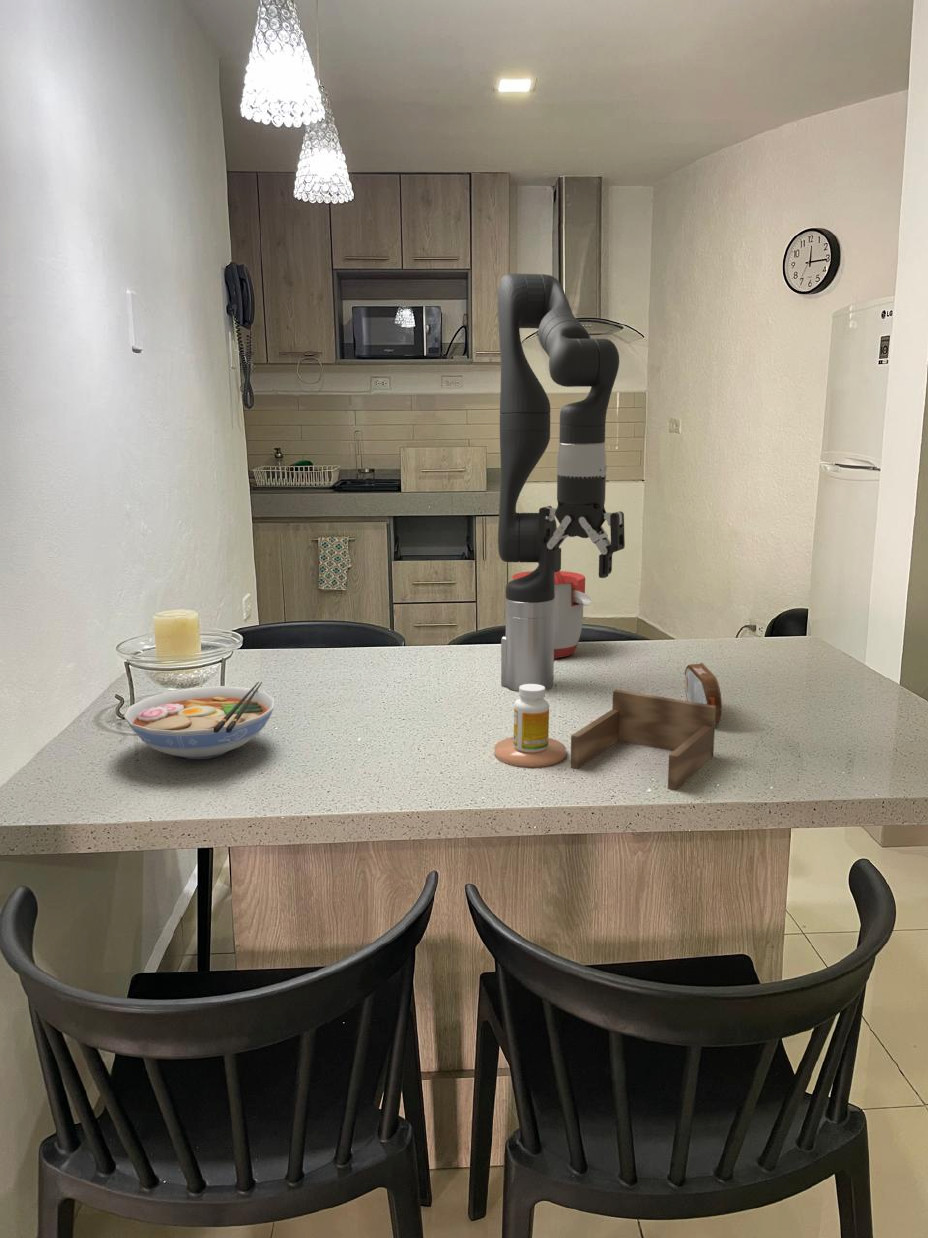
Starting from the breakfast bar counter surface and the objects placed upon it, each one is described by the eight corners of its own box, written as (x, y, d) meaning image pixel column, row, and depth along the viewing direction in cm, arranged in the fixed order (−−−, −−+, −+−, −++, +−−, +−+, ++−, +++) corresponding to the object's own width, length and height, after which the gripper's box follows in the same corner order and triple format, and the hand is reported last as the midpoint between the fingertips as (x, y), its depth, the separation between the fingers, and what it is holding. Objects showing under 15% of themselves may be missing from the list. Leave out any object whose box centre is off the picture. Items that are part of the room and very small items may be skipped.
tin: (722, 730, 157) (725, 681, 155) (703, 730, 157) (705, 681, 155) (698, 702, 172) (700, 657, 170) (681, 702, 172) (683, 657, 170)
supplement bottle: (555, 747, 147) (557, 687, 145) (532, 756, 143) (533, 694, 141) (529, 739, 150) (530, 680, 148) (506, 747, 147) (507, 686, 145)
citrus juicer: (570, 667, 195) (572, 571, 191) (498, 655, 205) (498, 564, 200) (603, 650, 208) (605, 560, 204) (533, 641, 217) (534, 554, 213)
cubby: (570, 767, 141) (571, 716, 140) (614, 736, 154) (616, 689, 153) (675, 790, 133) (678, 736, 131) (713, 755, 146) (715, 705, 144)
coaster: (481, 758, 145) (481, 752, 145) (516, 737, 154) (517, 731, 154) (544, 772, 139) (544, 766, 139) (577, 750, 148) (578, 744, 148)
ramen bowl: (159, 725, 162) (155, 679, 160) (293, 725, 161) (290, 679, 159) (100, 782, 137) (94, 728, 136) (257, 782, 137) (253, 728, 135)
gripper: (529, 472, 148) (529, 573, 152) (613, 476, 141) (610, 583, 145) (552, 468, 154) (551, 566, 158) (633, 472, 147) (630, 575, 151)
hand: (579, 574), depth 152 cm, fingers open, 8 cm apart
